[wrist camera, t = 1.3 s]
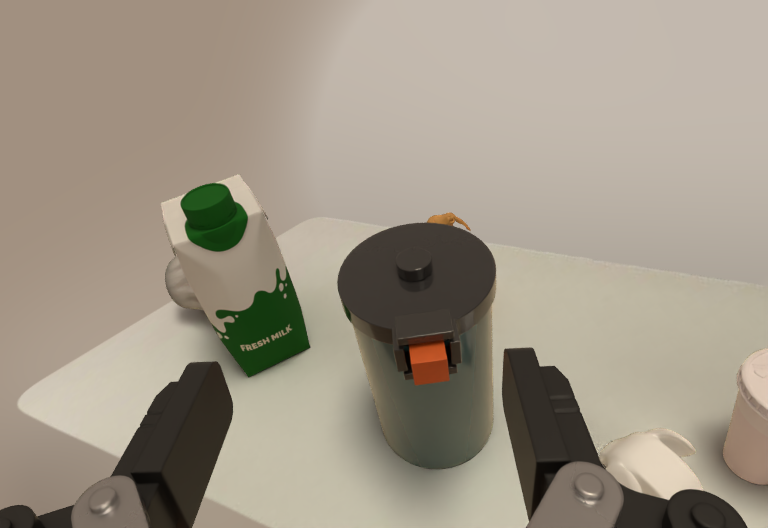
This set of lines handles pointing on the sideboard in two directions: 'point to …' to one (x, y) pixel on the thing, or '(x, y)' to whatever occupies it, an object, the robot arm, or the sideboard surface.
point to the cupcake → (180, 286)
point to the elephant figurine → (651, 462)
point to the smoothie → (750, 422)
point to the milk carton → (237, 272)
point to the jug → (425, 336)
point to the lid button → (429, 362)
